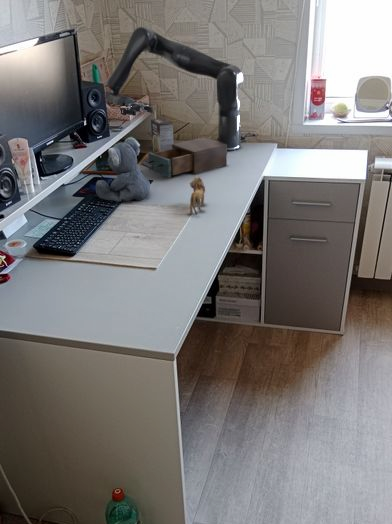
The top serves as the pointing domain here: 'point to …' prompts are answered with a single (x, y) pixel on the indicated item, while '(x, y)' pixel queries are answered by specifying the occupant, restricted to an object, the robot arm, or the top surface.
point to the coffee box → (161, 134)
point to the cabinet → (205, 153)
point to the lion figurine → (197, 194)
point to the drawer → (169, 162)
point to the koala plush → (124, 174)
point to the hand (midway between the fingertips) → (144, 111)
